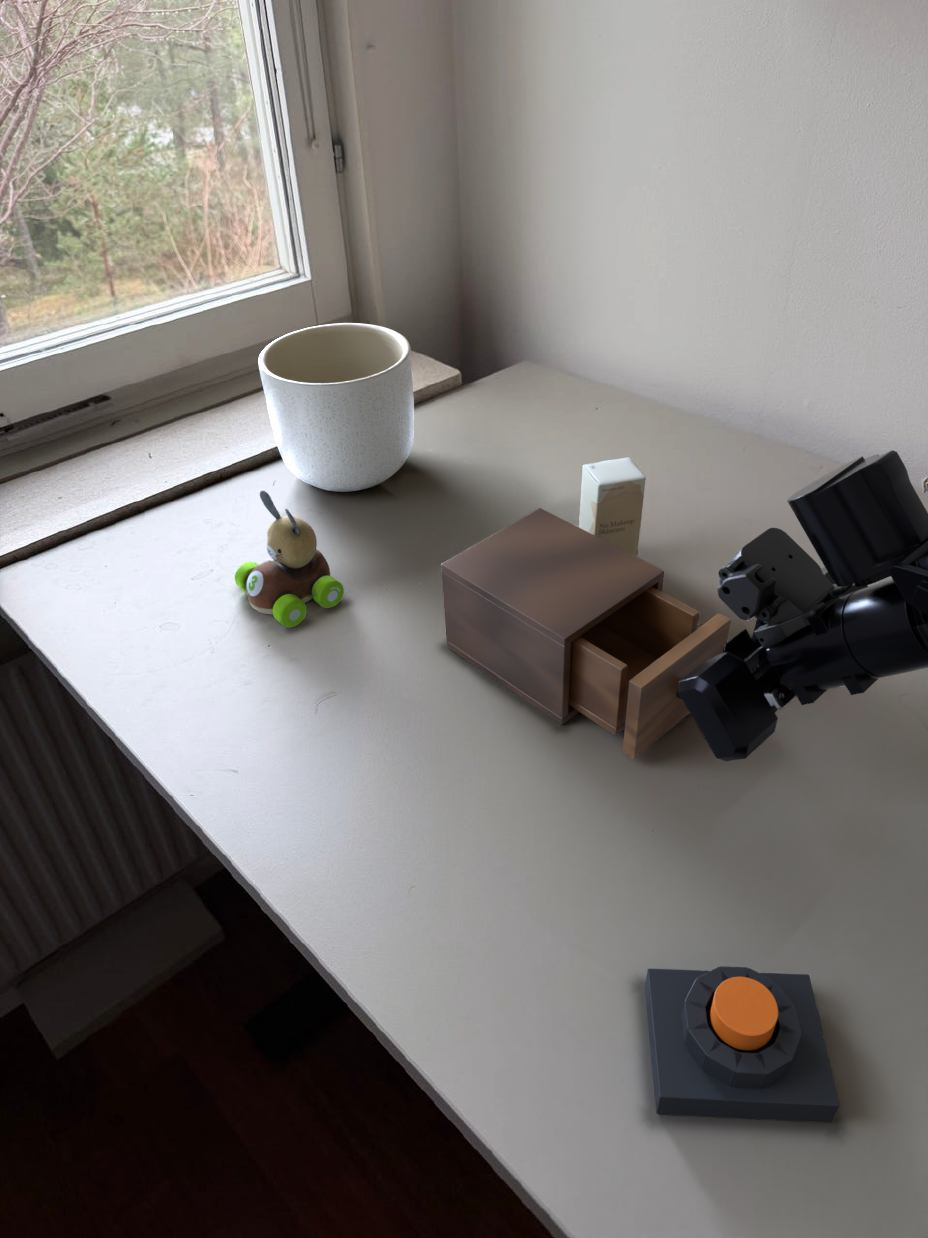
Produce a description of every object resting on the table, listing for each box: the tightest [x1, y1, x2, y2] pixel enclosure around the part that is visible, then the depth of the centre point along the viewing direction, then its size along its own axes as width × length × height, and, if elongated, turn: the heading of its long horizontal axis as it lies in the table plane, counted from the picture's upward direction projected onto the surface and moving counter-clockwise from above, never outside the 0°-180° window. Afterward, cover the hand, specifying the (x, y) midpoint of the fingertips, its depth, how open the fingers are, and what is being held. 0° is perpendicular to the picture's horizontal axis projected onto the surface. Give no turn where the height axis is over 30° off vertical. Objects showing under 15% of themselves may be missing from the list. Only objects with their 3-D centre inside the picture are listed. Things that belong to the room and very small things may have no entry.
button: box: [710, 977, 778, 1051], centre depth 54 cm, size 4×4×2 cm
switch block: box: [644, 965, 841, 1124], centre depth 56 cm, size 10×8×4 cm
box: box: [578, 456, 647, 557], centre depth 94 cm, size 5×4×11 cm
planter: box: [257, 322, 415, 493], centre depth 109 cm, size 17×17×15 cm
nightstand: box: [440, 507, 665, 726], centre depth 84 cm, size 15×13×10 cm
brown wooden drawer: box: [568, 587, 732, 760], centre depth 79 cm, size 15×11×8 cm
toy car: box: [234, 490, 345, 628], centre depth 91 cm, size 9×9×11 cm
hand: (706, 677), depth 72 cm, fingers closed
